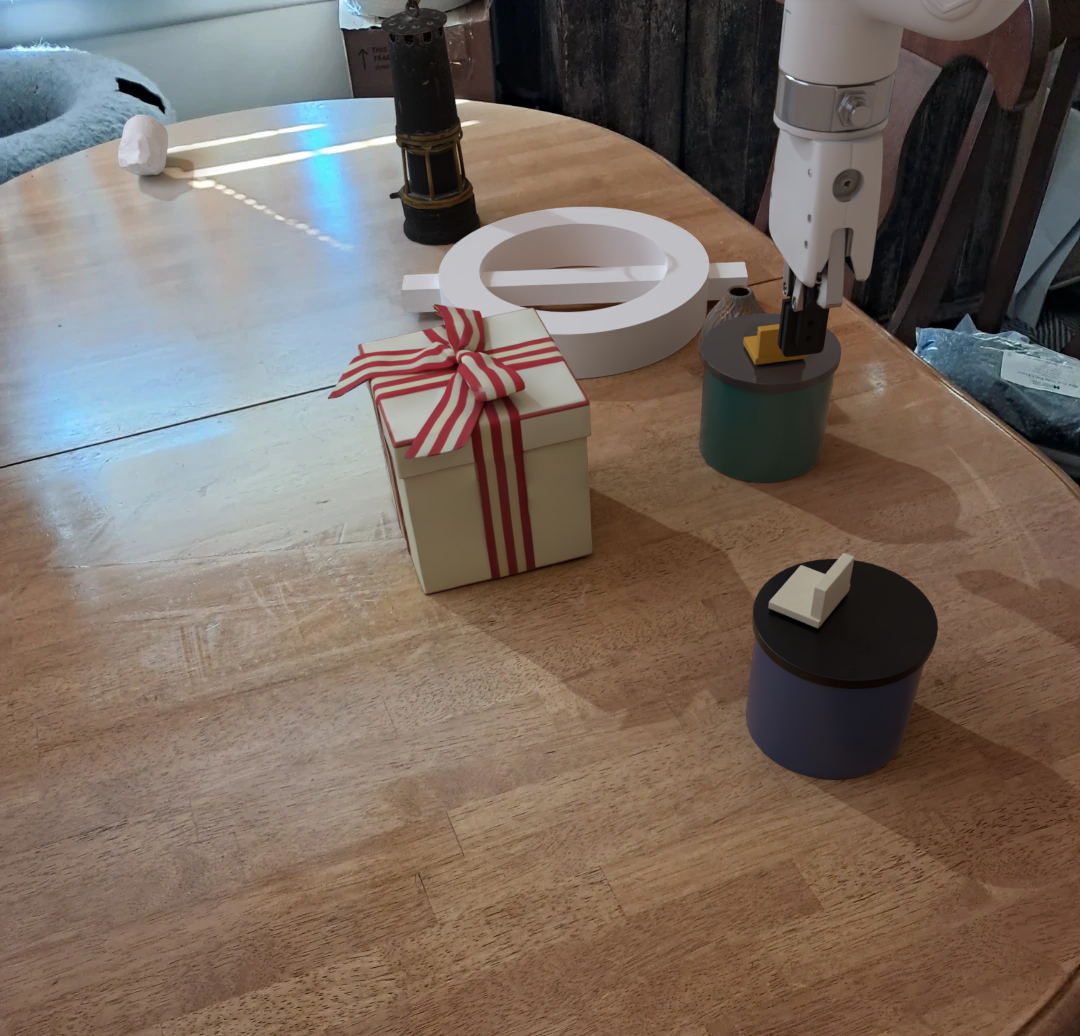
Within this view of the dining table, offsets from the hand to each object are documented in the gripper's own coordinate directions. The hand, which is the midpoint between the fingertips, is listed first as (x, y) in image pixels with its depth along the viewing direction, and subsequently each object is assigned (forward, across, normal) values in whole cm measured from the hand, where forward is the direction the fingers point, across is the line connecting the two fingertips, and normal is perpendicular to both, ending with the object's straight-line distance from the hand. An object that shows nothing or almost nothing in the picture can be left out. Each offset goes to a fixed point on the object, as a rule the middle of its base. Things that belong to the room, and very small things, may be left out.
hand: (799, 349), depth 89 cm
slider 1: (+3, +6, 0) cm, 7 cm away
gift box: (+14, 0, +27) cm, 30 cm away
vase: (+14, +19, -1) cm, 23 cm away
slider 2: (+3, -24, +7) cm, 26 cm away
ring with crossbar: (+14, +36, +12) cm, 40 cm away
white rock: (+14, +86, +60) cm, 106 cm away
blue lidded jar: (+13, -26, +5) cm, 30 cm away
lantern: (+14, +59, +24) cm, 65 cm away
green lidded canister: (+13, +7, 0) cm, 15 cm away
